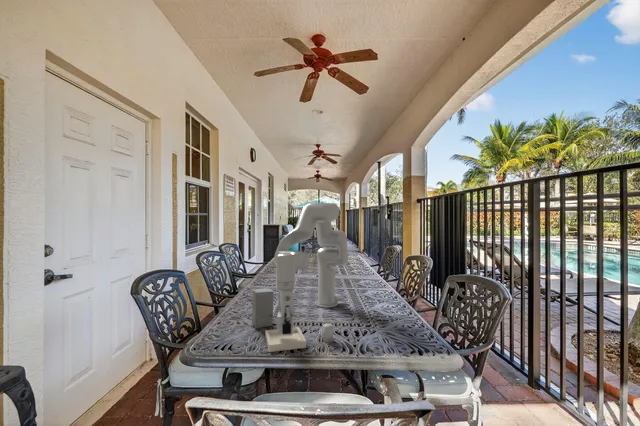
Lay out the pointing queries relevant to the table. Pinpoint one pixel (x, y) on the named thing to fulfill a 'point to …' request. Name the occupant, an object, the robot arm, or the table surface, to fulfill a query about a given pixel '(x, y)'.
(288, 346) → the tray
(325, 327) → the grey dowel
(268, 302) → the skincare box
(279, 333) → the skincare box
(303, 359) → the table surface
